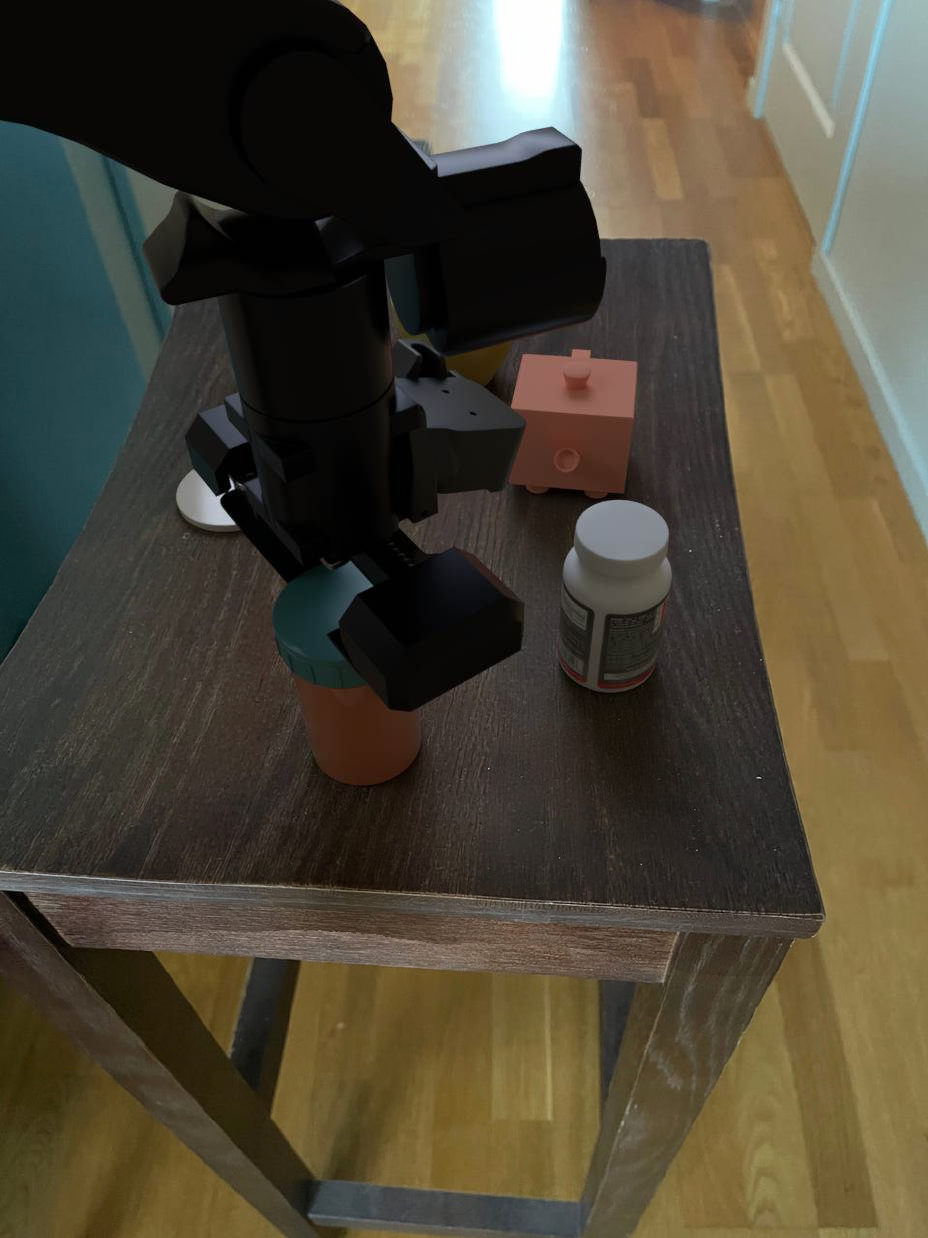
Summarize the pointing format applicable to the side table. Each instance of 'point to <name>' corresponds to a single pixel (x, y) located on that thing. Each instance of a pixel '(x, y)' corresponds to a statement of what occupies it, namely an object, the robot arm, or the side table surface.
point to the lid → (317, 624)
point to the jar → (357, 733)
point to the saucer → (203, 505)
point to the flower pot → (468, 358)
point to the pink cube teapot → (574, 422)
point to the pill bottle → (614, 596)
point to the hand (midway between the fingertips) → (360, 654)
